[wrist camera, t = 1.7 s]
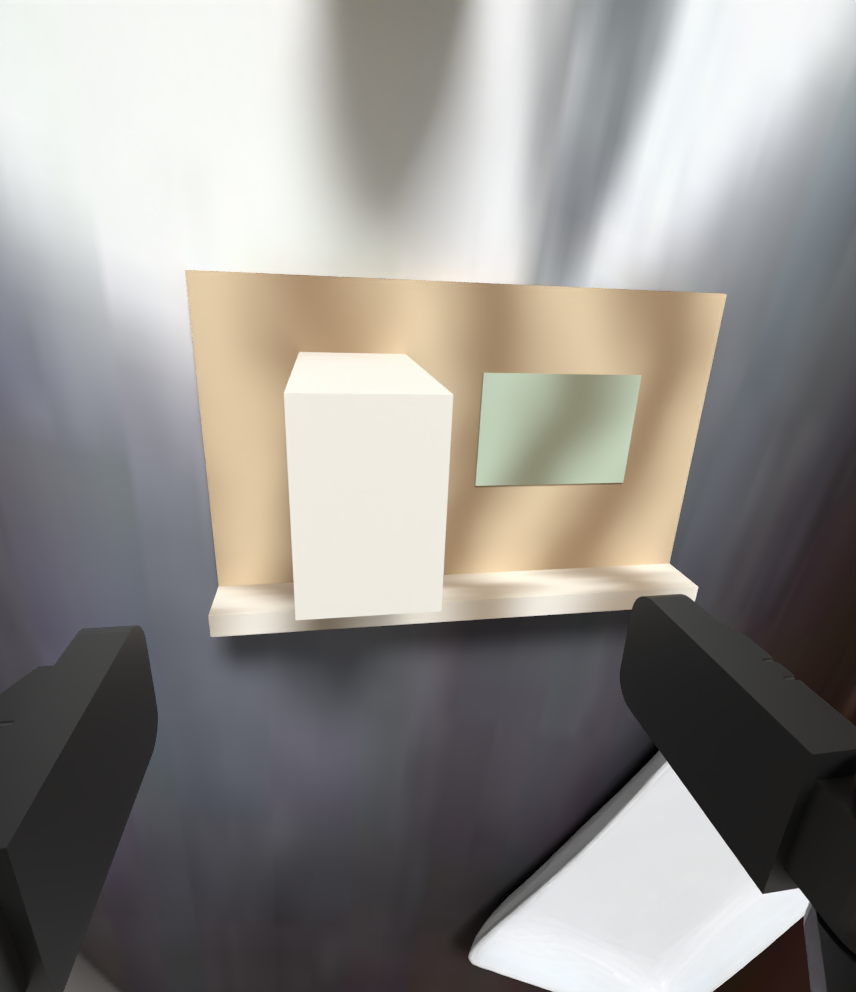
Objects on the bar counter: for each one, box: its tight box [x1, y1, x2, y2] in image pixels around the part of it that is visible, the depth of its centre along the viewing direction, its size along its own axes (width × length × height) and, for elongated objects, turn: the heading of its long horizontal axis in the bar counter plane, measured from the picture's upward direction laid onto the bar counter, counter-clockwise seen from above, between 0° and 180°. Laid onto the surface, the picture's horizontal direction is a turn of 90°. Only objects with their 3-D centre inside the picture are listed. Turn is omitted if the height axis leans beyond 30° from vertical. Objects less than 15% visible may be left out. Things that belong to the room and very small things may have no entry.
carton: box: [284, 352, 453, 620], centre depth 19 cm, size 6×4×9 cm
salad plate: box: [468, 751, 809, 992], centre depth 37 cm, size 21×21×3 cm
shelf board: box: [185, 270, 727, 637], centre depth 24 cm, size 22×14×3 cm, turn 88°
